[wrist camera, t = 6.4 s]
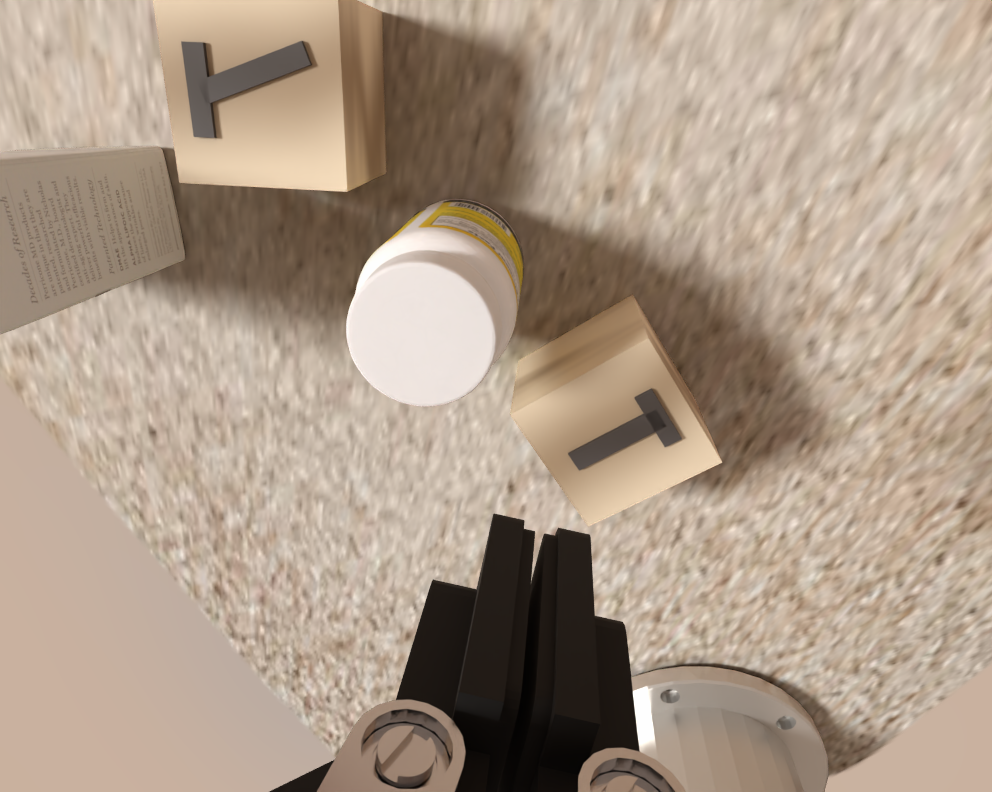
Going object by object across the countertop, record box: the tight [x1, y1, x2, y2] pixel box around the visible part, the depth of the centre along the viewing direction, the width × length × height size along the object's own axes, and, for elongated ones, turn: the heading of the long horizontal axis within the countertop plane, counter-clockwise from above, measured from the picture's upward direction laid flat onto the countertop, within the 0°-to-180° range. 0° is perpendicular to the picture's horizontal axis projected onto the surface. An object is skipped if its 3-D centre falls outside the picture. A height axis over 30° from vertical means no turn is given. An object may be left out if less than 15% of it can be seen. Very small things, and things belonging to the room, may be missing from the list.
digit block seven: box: [153, 0, 386, 192], centre depth 21 cm, size 5×5×5 cm
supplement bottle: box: [346, 199, 524, 406], centre depth 21 cm, size 5×5×8 cm
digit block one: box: [510, 294, 722, 527], centre depth 24 cm, size 5×5×5 cm
